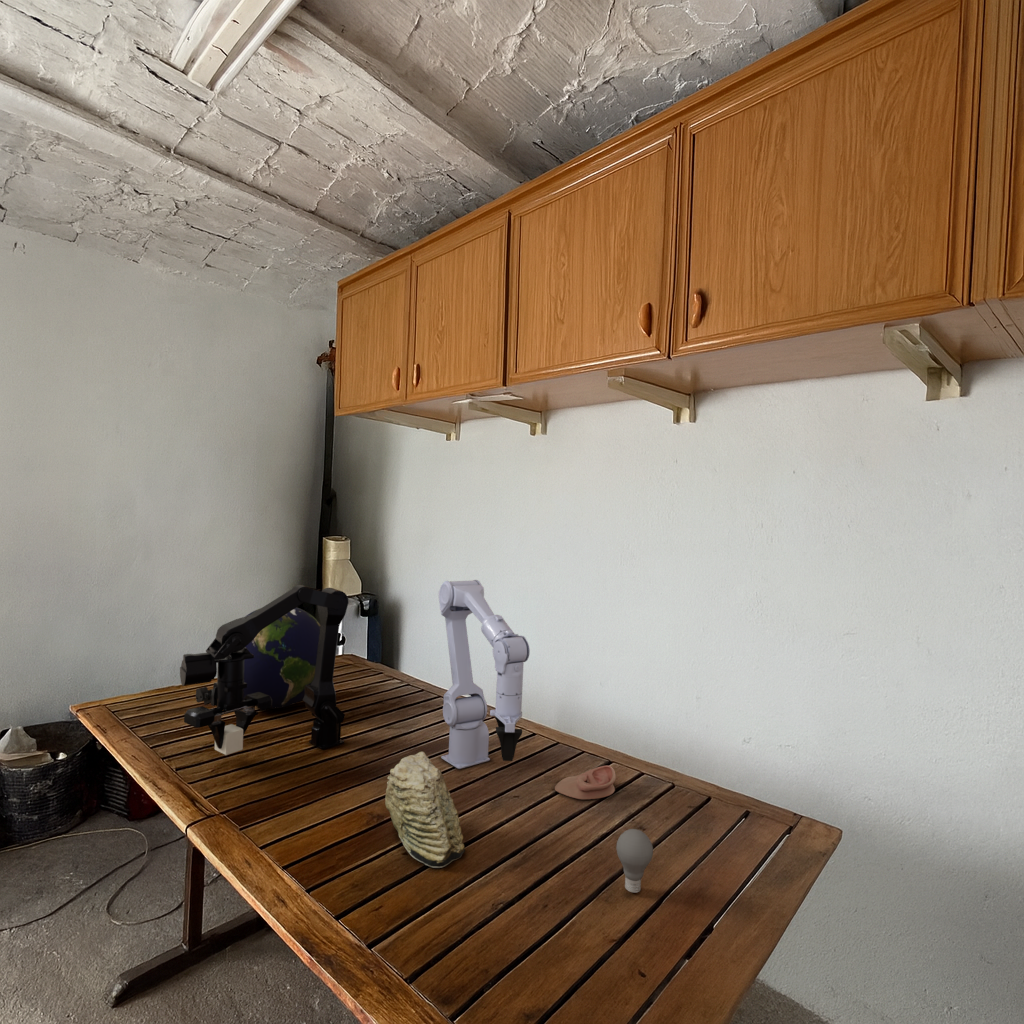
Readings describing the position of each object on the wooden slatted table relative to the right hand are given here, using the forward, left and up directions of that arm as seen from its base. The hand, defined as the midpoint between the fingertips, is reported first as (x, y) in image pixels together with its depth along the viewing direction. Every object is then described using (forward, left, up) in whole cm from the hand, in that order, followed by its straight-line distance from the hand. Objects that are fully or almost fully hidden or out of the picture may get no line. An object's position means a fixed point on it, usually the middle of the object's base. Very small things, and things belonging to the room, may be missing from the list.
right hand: (506, 753), depth 139 cm
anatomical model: (-16, +9, -9) cm, 20 cm away
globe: (+23, -81, -9) cm, 85 cm away
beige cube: (+45, -47, -5) cm, 65 cm away
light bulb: (+5, +40, -9) cm, 41 cm away
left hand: (+45, -47, -4) cm, 65 cm away
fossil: (+26, +8, -9) cm, 28 cm away
